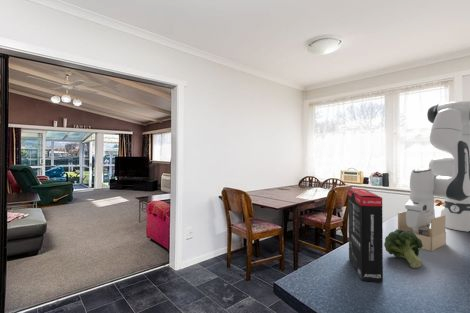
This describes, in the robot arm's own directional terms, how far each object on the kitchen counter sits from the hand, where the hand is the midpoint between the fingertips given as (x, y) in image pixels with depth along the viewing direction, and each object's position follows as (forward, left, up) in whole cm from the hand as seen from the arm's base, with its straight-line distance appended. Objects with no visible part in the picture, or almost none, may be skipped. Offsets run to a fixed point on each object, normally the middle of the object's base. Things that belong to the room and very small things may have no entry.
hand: (421, 234), depth 110 cm
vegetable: (+27, +5, -4) cm, 28 cm away
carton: (0, 0, -4) cm, 4 cm away
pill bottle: (0, 0, -4) cm, 4 cm away
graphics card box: (+48, +1, -4) cm, 48 cm away
